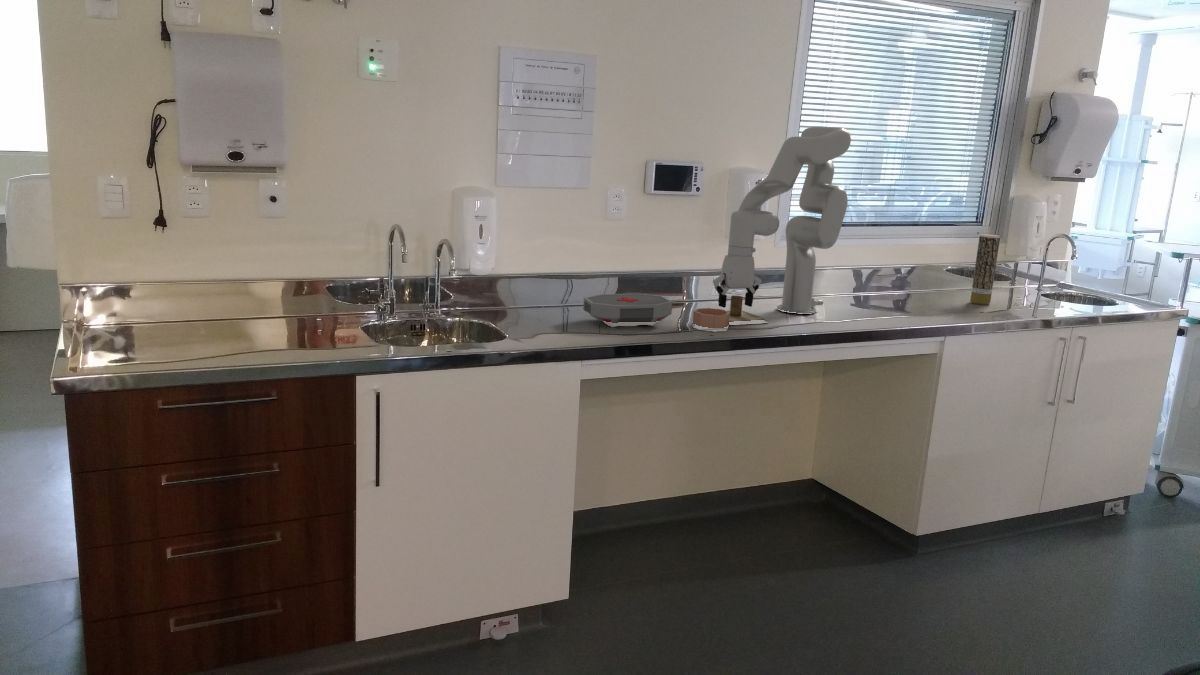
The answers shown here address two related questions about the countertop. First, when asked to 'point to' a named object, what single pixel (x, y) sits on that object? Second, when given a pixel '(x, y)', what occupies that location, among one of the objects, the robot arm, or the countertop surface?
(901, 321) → the countertop surface
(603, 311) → the first aid kit
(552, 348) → the countertop surface
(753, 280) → the robot arm
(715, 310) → the bowl
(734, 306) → the cover
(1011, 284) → the countertop surface
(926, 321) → the countertop surface
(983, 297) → the bark textured cylinder
